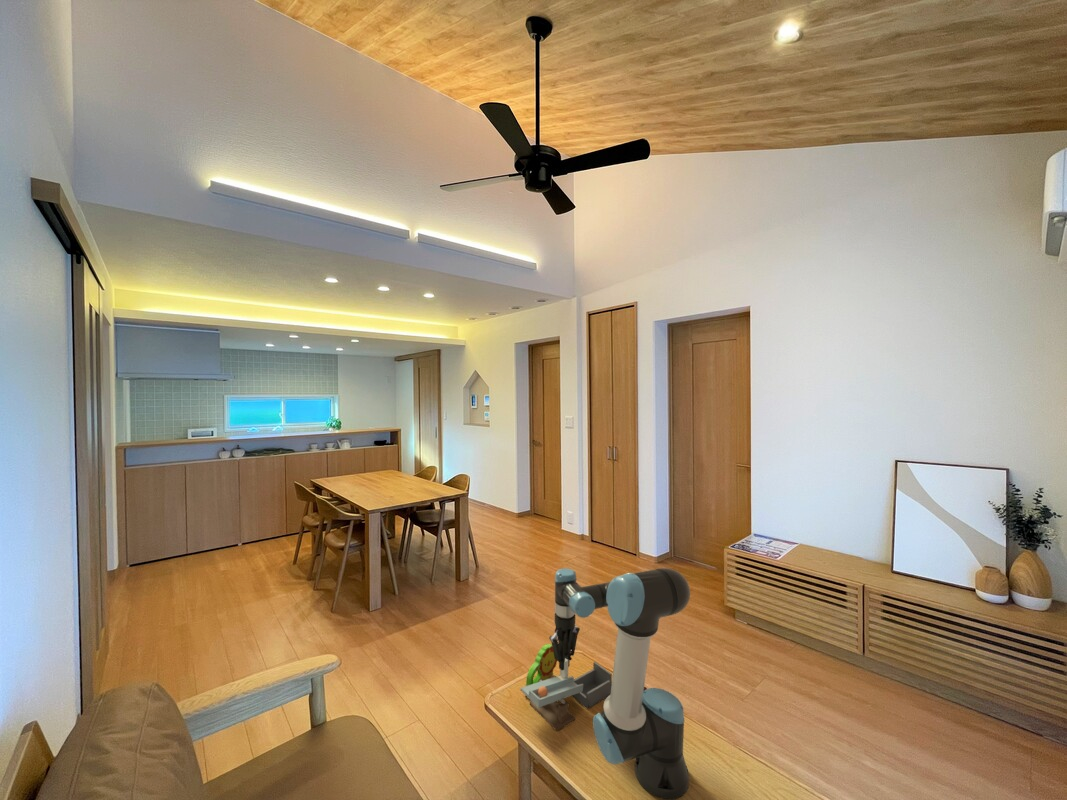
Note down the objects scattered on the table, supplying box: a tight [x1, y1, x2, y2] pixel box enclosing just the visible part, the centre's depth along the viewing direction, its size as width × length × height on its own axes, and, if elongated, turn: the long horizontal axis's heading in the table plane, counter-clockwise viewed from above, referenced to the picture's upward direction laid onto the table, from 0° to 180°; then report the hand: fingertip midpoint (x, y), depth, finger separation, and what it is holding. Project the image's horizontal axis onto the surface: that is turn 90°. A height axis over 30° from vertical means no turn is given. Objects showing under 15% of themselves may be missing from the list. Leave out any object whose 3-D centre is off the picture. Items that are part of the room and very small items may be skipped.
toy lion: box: [524, 643, 558, 687], centre depth 163 cm, size 16×5×15 cm, turn 137°
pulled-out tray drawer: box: [571, 661, 613, 710], centre depth 159 cm, size 9×12×8 cm
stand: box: [529, 700, 576, 732], centre depth 151 cm, size 15×8×6 cm, turn 37°
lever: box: [520, 674, 583, 708], centre depth 151 cm, size 13×20×3 cm, turn 127°
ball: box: [538, 687, 548, 698], centre depth 145 cm, size 3×3×3 cm
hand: (564, 676), depth 158 cm, fingers closed
